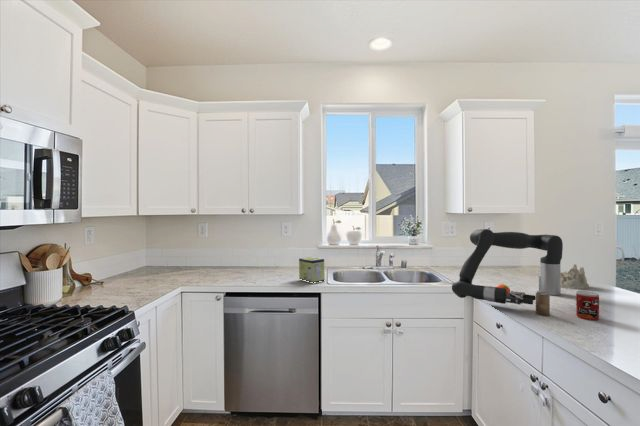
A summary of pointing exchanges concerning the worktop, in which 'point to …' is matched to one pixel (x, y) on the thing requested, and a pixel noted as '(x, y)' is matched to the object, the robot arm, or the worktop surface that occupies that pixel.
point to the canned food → (587, 305)
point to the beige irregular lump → (574, 279)
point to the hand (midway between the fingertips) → (534, 300)
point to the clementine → (504, 287)
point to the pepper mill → (542, 303)
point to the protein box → (311, 269)
